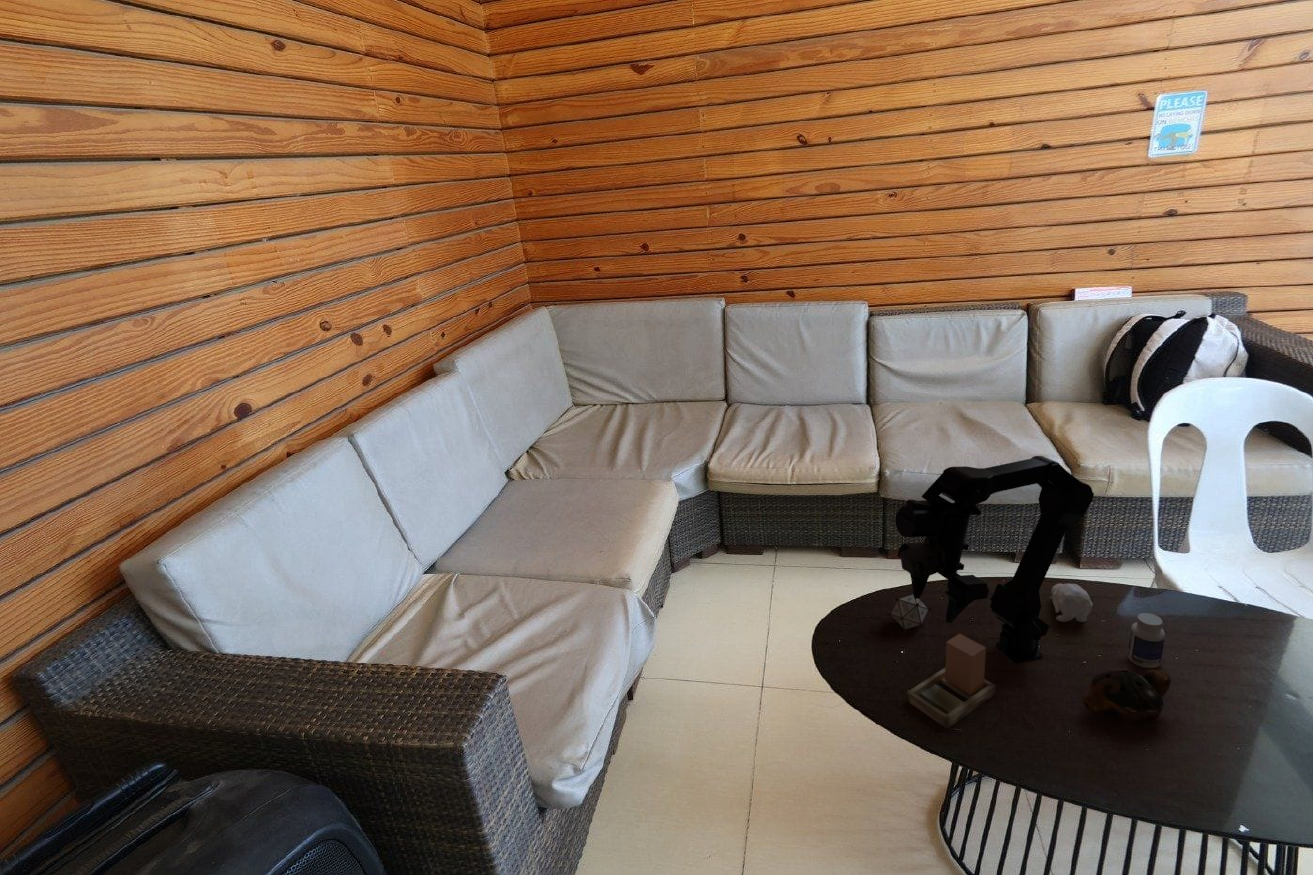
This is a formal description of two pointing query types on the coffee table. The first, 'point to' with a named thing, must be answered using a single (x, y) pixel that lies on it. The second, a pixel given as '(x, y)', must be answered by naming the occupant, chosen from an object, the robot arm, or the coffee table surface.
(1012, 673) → the coffee table surface
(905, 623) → the game die
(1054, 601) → the white bear figurine
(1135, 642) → the pill bottle
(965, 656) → the terracotta block
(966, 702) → the box
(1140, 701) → the decorative turtle
